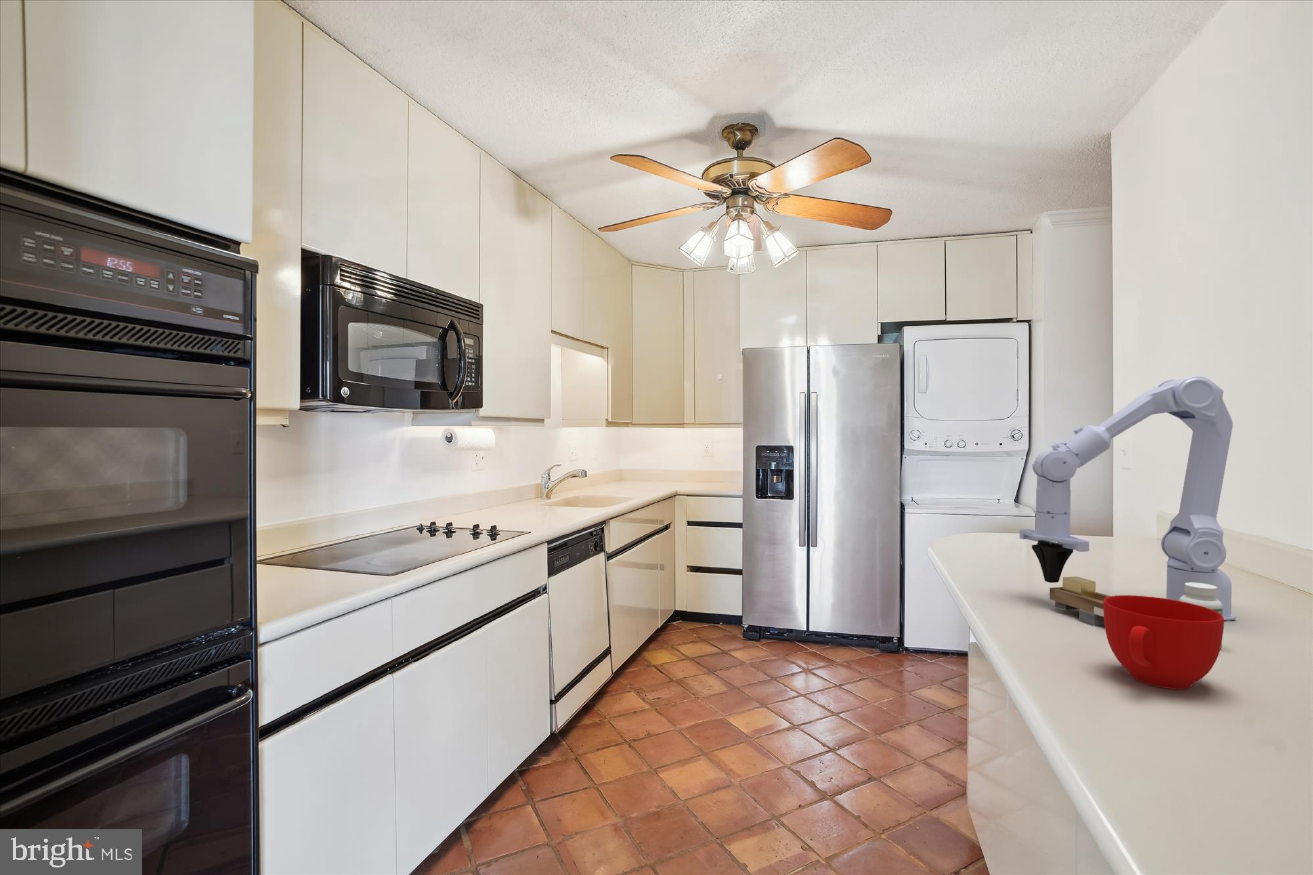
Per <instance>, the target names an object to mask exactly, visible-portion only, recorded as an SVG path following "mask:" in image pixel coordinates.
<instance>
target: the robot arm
mask: <svg viewBox="0 0 1313 875" xmlns="http://www.w3.org/2000/svg"><path fill="white" fill-rule="evenodd" d="M1223 395H1224V390H1223V389H1222V388H1221V387H1219V385H1217V384H1216V383H1215V382H1214V381H1212V380H1211V379H1209V378H1207V377H1205V376H1200V375H1199V376H1198V375H1194V376H1189V377H1185V378H1181V379H1169V380H1165V381H1162V382H1161V383H1159V384H1158V385H1157V386H1156V387H1152V388H1151V389H1147V390H1146V391H1145V392H1143V393H1142V394H1140V395H1138V397H1136V398H1135V399H1133V400H1132V401H1131V402H1130V403H1128V404H1127V405H1125V406H1123V408H1121V409H1119V410H1118V411H1117V412H1115V413H1114V414H1113V415H1111V416H1110V417H1108V418H1107V419H1106V420H1104V421H1103V422H1101V424H1099V425H1097V426H1096V425H1091V424H1090V425H1085V426H1084V427H1082V426H1077V427H1075V428H1074V429H1073V433H1072V435H1070V436H1069V437H1067V438H1065V439H1064V440H1063V441H1061V442H1059V443H1058V442H1055V443H1053V444H1052V445H1051V448H1052V450H1048V451H1047V450H1046V451H1042V452H1041V453H1039V454H1038V455H1037V456H1036V457H1035V460H1034V461H1033V464H1032V465H1031V468H1032V471H1033V473H1034V475H1035V476H1036V488H1035V489H1036V490H1035V529H1030V528H1020V529H1019V537H1018V538H1019V539H1020V540H1028V541H1033V542H1037V543H1036V544H1031V549H1032V551H1033V553H1034V554H1035V556H1036V558H1037V560H1038V563H1039V565H1040V569H1041V571H1042V576H1043V579H1044V582H1046V583H1050V584H1051V583H1055V584H1056V583H1059V581H1060V579H1061V576H1062V573H1063V570H1064V569H1065V568H1064V567H1065V565H1066V563H1067V561H1068V560H1069V559H1070V557H1071V555H1072V554H1073V553H1074V551H1077V552H1080V553H1082V552H1083V553H1084V552H1086V553H1087V552H1090V541H1089V540H1085V539H1081V538H1078V537H1075V536H1072V535H1071V500H1072V498H1071V496H1072V494H1071V493H1072V492H1071V479H1072V478H1073V477H1074V476H1075V475H1076V473H1077V470H1078V469H1080V468H1081V467H1083V466H1084V465H1087V464H1088V463H1089V462H1091V461H1092V460H1094V459H1096V458H1097V457H1099V456H1101V455H1102V454H1103V453H1104V452H1106V451H1108V450H1109V449H1110V447H1111V442H1112V439H1113V438H1116V437H1117V436H1119V435H1120V434H1121V433H1124V432H1125V431H1127V430H1128V429H1130V428H1132V427H1133V426H1136V425H1137V424H1139V423H1140V422H1142V421H1143V420H1145V419H1147V418H1149V417H1151V416H1152V415H1158V414H1165V413H1167V414H1169V415H1171V416H1174V417H1175V418H1178V419H1179V420H1180V421H1182V423H1184V424H1185V425H1186V426H1187V427H1188V428H1189V429H1190V430H1192V434H1191V442H1190V447H1189V452H1188V458H1187V462H1186V464H1187V465H1186V470H1185V476H1184V482H1183V487H1182V492H1181V498H1180V504H1179V508H1178V509H1179V510H1178V513H1177V514H1176V515H1175V516H1174V518H1172V519H1171V520H1170V523H1169V527H1168V530H1167V532H1166V533H1164V535H1163V536H1162V538H1161V541H1160V547H1161V551H1162V553H1164V555H1165V556H1166V557H1168V558H1167V561H1166V565H1167V566H1166V594H1165V595H1166V598H1165V599H1171V600H1176V601H1179V599H1180V597H1181V596H1183V595H1187V593H1186V592H1185V591H1184V585H1185V583H1189V582H1194V583H1203V584H1209V585H1213V586H1216V587H1217V596H1216V597H1215V599H1217V600H1219V601H1220V602H1221V603H1222V606H1223V614H1222V616H1223V617H1224V621H1231V620H1233V621H1234V620H1237V617H1236V616H1234V615H1232V592H1233V591H1232V581H1231V578H1230V577H1229V576H1228V574H1227V573H1226V572H1224V571H1223V570H1222V569H1219V567H1220V566H1222V565H1223V563H1224V562H1225V560H1226V558H1227V550H1226V547H1225V543H1224V541H1223V540H1224V531H1223V529H1222V527H1221V525H1220V524H1219V521H1218V519H1217V518H1218V517H1217V515H1218V510H1219V505H1220V499H1221V494H1222V489H1223V483H1224V477H1225V471H1226V466H1227V460H1228V454H1229V449H1230V443H1231V437H1232V432H1233V426H1234V425H1233V424H1234V422H1233V419H1232V416H1231V414H1230V412H1229V411H1228V408H1227V406H1226V403H1225V401H1224V399H1223V398H1224V396H1223Z"/></svg>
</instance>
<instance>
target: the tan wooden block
mask: <svg viewBox="0 0 1313 875" xmlns="http://www.w3.org/2000/svg"><path fill="white" fill-rule="evenodd" d="M1096 586H1097V585H1096V581H1095V580H1091V579H1087V578H1084V577H1080V576H1063V577H1062V587H1063V590H1064V591H1068V592H1071V593H1074V594H1078V595H1081V596H1085V597H1088V598H1091V599H1095V592H1097V591H1096Z"/></svg>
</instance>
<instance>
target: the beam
mask: <svg viewBox="0 0 1313 875" xmlns="http://www.w3.org/2000/svg"><path fill="white" fill-rule="evenodd" d="M1109 596H1110V595H1108V594H1104V593H1101V592H1098V591H1095V599H1091V598H1088V597H1085V596H1081V595H1078V594H1074V593H1071V592H1068V591H1064V590H1063V586H1059V587H1058V586H1056V587H1055V586H1054V587H1049V600H1050V601H1053V602H1054V607H1055V608H1058V609H1062V610H1064V611H1076V610H1079V611H1078V614H1079V615H1078V617H1079V619H1078V620H1079V622H1082V623H1084V622H1085V624H1087V625H1090V624H1091V626H1093V625H1099V626H1105V624H1104V612H1103V600H1104V599H1105V598H1106V597H1109Z"/></svg>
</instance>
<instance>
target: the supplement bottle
mask: <svg viewBox="0 0 1313 875" xmlns="http://www.w3.org/2000/svg"><path fill="white" fill-rule="evenodd" d="M1184 591H1185V592H1186V593H1187V595H1183V596H1181V597H1180V599H1179V601H1182V602H1187V603H1191V604H1195V605H1199V606H1203V607H1206V608H1209V609H1212V610H1214V611H1216V612H1218V613H1220V614H1221V615H1222V614H1223V606H1222V603H1221V602H1220V601H1219V600H1217V599H1215V597H1216V596H1217V587H1216V586H1213V585H1209V584H1203V583H1194V582H1189V583H1185V585H1184ZM1221 647H1223V642H1222V643H1221Z"/></svg>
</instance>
